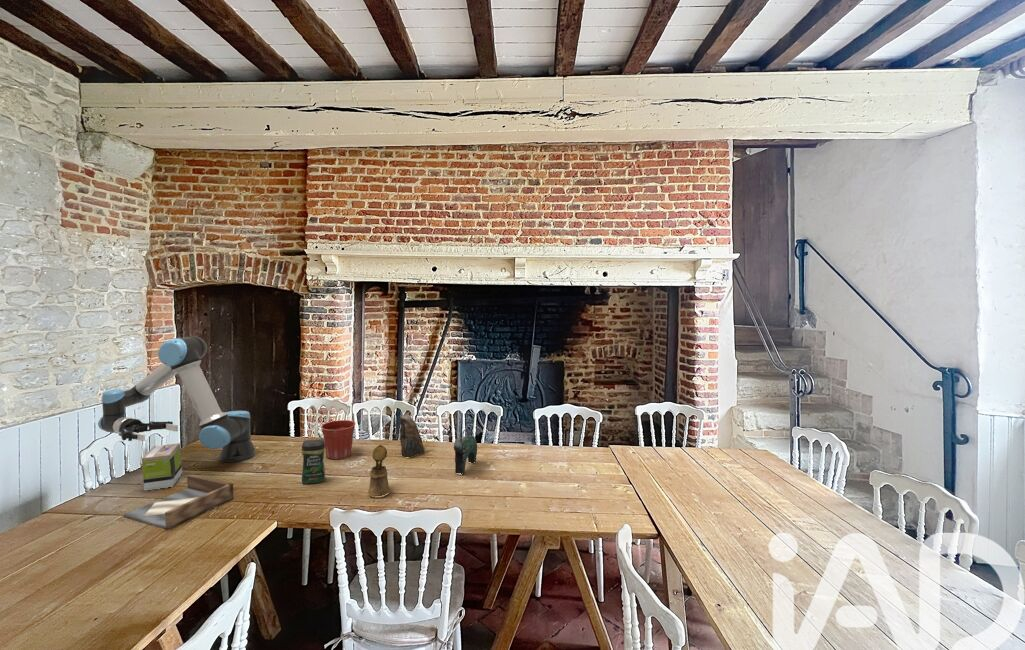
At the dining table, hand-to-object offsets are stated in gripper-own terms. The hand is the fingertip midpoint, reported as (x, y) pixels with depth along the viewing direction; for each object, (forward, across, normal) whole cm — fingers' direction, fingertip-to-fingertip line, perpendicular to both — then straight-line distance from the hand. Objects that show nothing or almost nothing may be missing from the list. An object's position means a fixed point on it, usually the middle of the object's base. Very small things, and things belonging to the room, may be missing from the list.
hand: (161, 432), depth 195 cm
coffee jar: (+63, -22, -20) cm, 70 cm away
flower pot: (+53, -50, -20) cm, 76 cm away
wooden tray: (+33, +15, -20) cm, 42 cm away
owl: (+86, -66, -20) cm, 110 cm away
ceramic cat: (+120, -59, -20) cm, 135 cm away
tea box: (+5, +3, -21) cm, 22 cm away
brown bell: (+96, -24, -20) cm, 101 cm away
